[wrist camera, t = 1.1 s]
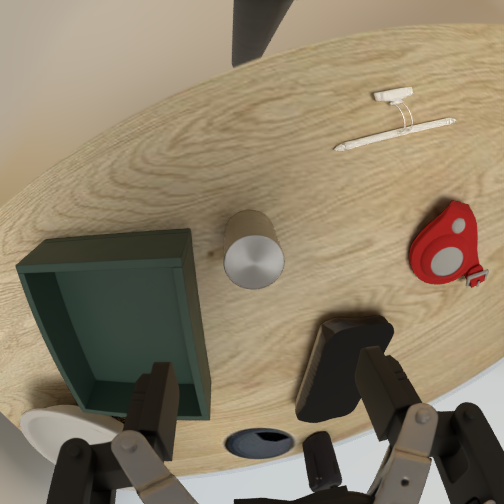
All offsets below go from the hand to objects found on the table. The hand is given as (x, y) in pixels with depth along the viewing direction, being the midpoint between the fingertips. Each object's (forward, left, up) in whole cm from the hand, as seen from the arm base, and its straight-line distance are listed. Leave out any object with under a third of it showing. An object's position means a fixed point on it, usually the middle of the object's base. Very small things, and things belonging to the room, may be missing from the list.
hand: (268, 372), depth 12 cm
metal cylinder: (0, 0, -17) cm, 17 cm away
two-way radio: (+35, +9, -17) cm, 41 cm away
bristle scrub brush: (+17, +10, -17) cm, 27 cm away
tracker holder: (+3, +22, -17) cm, 28 cm away
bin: (+9, -13, -17) cm, 23 cm away
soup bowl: (+31, -25, -17) cm, 44 cm away
